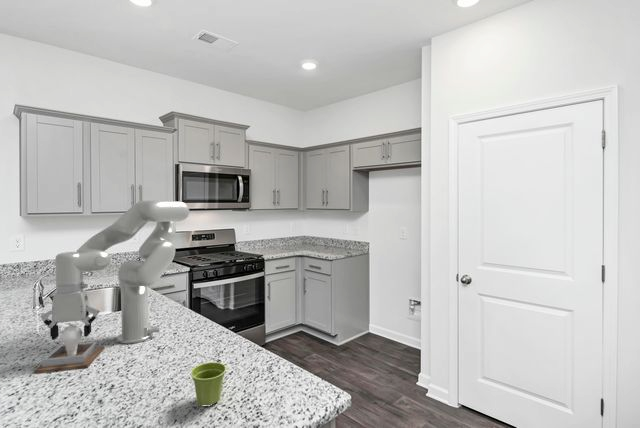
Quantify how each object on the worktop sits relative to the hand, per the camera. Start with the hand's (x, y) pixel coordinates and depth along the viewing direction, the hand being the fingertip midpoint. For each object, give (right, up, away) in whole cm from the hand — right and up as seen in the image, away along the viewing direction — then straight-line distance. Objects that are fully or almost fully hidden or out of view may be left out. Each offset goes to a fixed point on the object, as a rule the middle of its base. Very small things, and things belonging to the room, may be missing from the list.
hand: (71, 336), depth 117 cm
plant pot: (+56, -9, -23) cm, 61 cm away
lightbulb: (0, -8, 0) cm, 8 cm away
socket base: (0, -8, 0) cm, 8 cm away
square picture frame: (0, -8, 0) cm, 8 cm away
